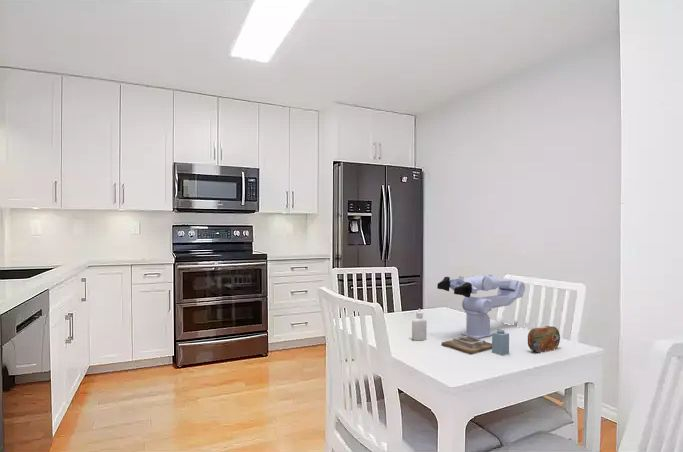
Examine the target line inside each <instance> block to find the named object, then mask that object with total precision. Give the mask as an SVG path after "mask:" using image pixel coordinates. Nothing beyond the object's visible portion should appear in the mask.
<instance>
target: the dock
mask: <svg viewBox="0 0 683 452" xmlns="http://www.w3.org/2000/svg"><path fill="white" fill-rule="evenodd" d="M442 346H443V347H446V348H450V349H452V350H455V351H458V352H461V353H464V354H468V355H474V354H477V353H481V352H485V351H489V350H492V342H487V341H486V340H484V339H482V338H478V339H477V338H474V337H470V336H466V335H463V336H460V337H459V336H458V337H455V338H453V339H452V340H451V339H450V340H447V341H441V347H442Z"/></svg>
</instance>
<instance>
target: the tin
mask: <svg viewBox="0 0 683 452" xmlns="http://www.w3.org/2000/svg"><path fill="white" fill-rule="evenodd" d="M560 343H561V334H560V331H559V329H558V328H557V327H556V326H551V325H545V326H540V327H539V326H538V327H533V328H531V329H530V331H528V334H527V345H528V347H529V350H531V351H533V352H536V353H539V354H542V353H546V352H549V351H550V350H551V351H554V349H555V350H556V349H557V348H558V347H559V345H560ZM545 351H546V352H545ZM541 352H542V353H541Z"/></svg>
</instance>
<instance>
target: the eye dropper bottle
mask: <svg viewBox="0 0 683 452" xmlns="http://www.w3.org/2000/svg"><path fill="white" fill-rule="evenodd" d="M423 314H424V313H423V311H421V308H418V310H417V311H416V313H415V315H416V316H415V318H413V319H412V322H411V340H412V341H416V342H417V341H418V342H419V341H426V340H427V325H428V324H427V319H426V318H423Z"/></svg>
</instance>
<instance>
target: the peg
mask: <svg viewBox="0 0 683 452" xmlns="http://www.w3.org/2000/svg"><path fill="white" fill-rule="evenodd" d="M491 334H492V335H491V343H492V349H491V353H493V354H496V355H499V356H506V355H509V354H510V333H507V332H505V330H504V329H501V328H499V329H496V331H494V332H493V331H492V332H491Z"/></svg>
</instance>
